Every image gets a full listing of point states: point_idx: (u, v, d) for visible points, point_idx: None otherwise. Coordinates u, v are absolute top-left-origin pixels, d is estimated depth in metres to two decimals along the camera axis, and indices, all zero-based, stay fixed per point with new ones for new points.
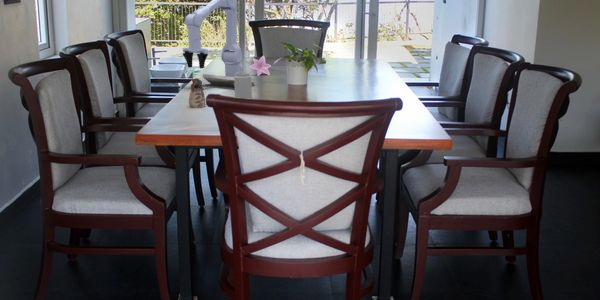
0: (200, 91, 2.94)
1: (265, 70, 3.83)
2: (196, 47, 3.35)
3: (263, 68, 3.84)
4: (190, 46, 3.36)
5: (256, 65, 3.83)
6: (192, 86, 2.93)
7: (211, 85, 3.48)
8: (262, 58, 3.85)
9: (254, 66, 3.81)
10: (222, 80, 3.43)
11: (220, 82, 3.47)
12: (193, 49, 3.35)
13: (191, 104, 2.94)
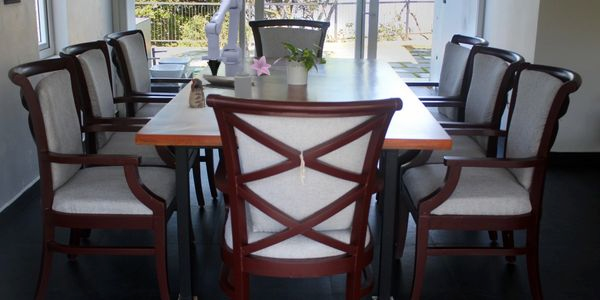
0: (200, 91, 2.94)
1: (265, 70, 3.83)
2: (215, 55, 3.40)
3: (263, 68, 3.84)
4: (209, 54, 3.41)
5: (256, 65, 3.83)
6: (192, 86, 2.93)
7: (211, 85, 3.48)
8: (263, 58, 3.85)
9: (254, 66, 3.81)
10: (222, 80, 3.43)
11: (220, 82, 3.47)
12: (212, 57, 3.40)
13: (191, 104, 2.94)
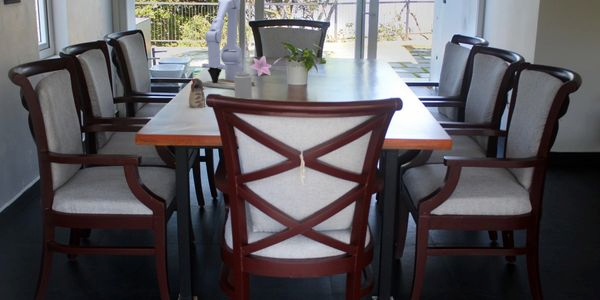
0: (200, 91, 2.94)
1: (265, 70, 3.83)
2: (216, 63, 3.41)
3: (264, 68, 3.84)
4: (210, 62, 3.42)
5: (257, 65, 3.83)
6: (192, 86, 2.93)
7: None
8: (263, 58, 3.85)
9: (254, 66, 3.81)
10: None
11: None
12: (213, 65, 3.41)
13: (191, 104, 2.94)
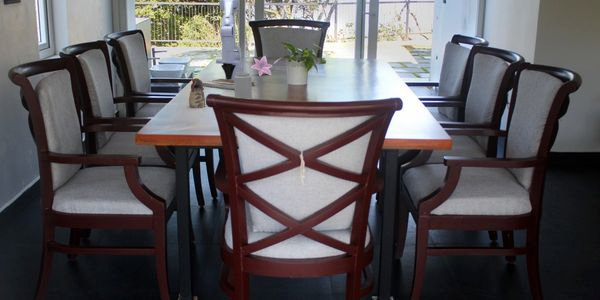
0: (200, 91, 2.94)
1: (266, 70, 3.83)
2: (230, 59, 3.36)
3: (264, 68, 3.84)
4: (224, 58, 3.36)
5: (257, 65, 3.82)
6: (192, 86, 2.93)
7: None
8: (264, 58, 3.85)
9: (255, 66, 3.81)
10: None
11: None
12: (227, 61, 3.36)
13: (191, 104, 2.94)
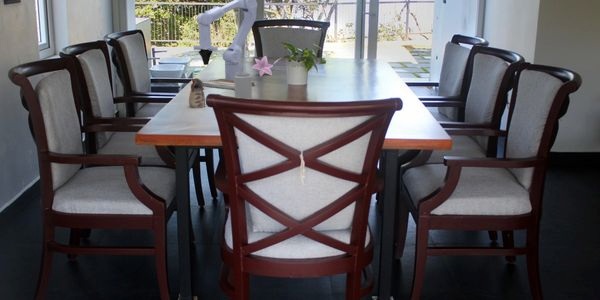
0: (200, 91, 2.94)
1: (267, 70, 3.83)
2: (206, 45, 3.50)
3: (265, 68, 3.84)
4: (201, 44, 3.51)
5: (258, 65, 3.82)
6: (192, 86, 2.93)
7: None
8: (264, 58, 3.85)
9: (256, 66, 3.81)
10: None
11: None
12: (204, 47, 3.50)
13: (191, 104, 2.94)
